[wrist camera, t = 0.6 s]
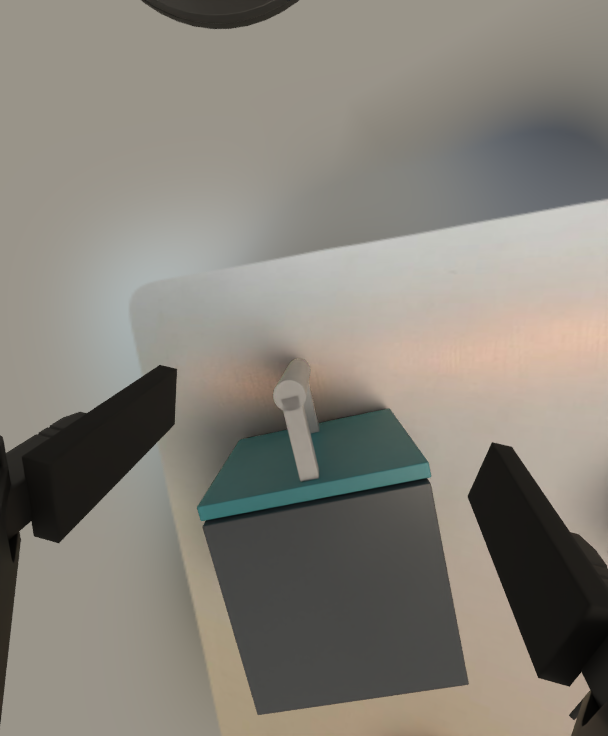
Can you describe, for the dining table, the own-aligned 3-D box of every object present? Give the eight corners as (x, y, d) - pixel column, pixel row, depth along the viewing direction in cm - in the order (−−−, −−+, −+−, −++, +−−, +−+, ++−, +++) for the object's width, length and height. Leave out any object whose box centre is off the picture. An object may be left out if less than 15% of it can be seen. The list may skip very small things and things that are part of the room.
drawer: (222, 373, 33) (166, 407, 21) (375, 339, 32) (408, 354, 20) (273, 566, 36) (250, 692, 24) (416, 541, 35) (466, 659, 23)
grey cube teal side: (245, 447, 35) (201, 526, 22) (388, 417, 34) (430, 483, 21) (279, 574, 37) (257, 715, 24) (415, 550, 36) (469, 685, 23)
